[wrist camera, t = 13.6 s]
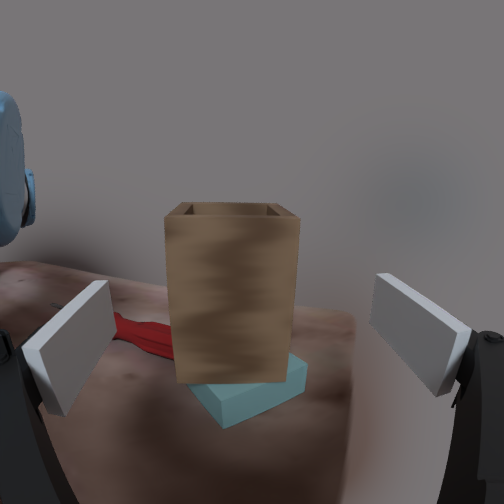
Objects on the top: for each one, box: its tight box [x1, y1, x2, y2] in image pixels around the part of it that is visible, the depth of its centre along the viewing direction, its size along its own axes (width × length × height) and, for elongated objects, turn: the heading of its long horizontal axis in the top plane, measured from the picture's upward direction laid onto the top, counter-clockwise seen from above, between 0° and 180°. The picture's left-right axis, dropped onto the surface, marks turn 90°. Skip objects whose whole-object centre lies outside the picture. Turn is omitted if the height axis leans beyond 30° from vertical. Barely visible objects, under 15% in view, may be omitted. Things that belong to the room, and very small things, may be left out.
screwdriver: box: [50, 303, 174, 360], centre depth 32 cm, size 4×25×4 cm, turn 71°
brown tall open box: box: [164, 202, 300, 384], centre depth 23 cm, size 8×8×12 cm
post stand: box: [186, 352, 308, 429], centre depth 24 cm, size 8×8×9 cm
